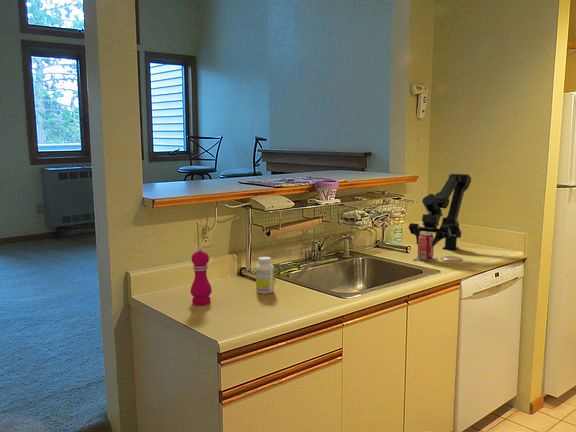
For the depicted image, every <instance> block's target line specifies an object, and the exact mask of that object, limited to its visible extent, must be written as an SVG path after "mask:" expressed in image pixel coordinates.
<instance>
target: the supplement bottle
mask: <svg viewBox="0 0 576 432" xmlns="http://www.w3.org/2000/svg"><path fill="white" fill-rule="evenodd" d="M257 261H258V264H256V266H255V288H256V289H255V290H256V292H257V293H258V294H262V295H264V294H265V295H266V294H271V293H273V292H274V291H275V272H274V271H275V268H274V267H275V266H274V265H273V264H272V263H271V262H272V258H271V256H259V257H258V260H257Z"/></svg>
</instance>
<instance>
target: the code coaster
mask: <svg viewBox="0 0 576 432" xmlns="http://www.w3.org/2000/svg"><path fill="white" fill-rule="evenodd" d="M438 259H439V258H438V257H433V258H432V259H431V260H421V259H419V258H418V256H417V257H414V258H413V259H412V261H415V262H421V263H422V262H424V263H430V264H431V263H434V262H435V261H437V260H438Z"/></svg>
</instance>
